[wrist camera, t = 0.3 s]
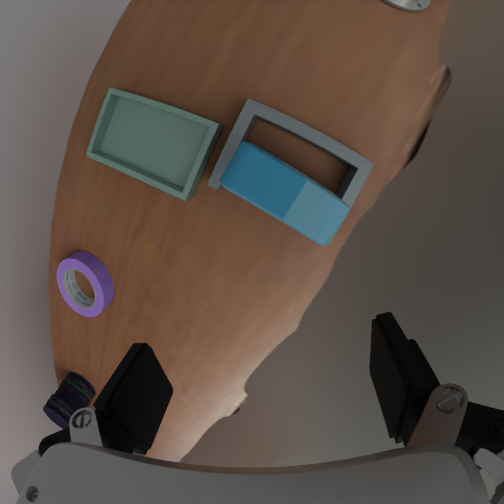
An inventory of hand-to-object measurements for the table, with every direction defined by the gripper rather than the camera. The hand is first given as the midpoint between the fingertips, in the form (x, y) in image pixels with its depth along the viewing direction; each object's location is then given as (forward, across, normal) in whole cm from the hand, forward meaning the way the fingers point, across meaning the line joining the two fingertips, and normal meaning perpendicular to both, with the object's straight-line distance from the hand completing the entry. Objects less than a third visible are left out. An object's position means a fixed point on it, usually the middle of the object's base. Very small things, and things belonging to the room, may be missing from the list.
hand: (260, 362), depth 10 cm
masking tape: (+29, +35, +5) cm, 45 cm away
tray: (+28, +14, -14) cm, 34 cm away
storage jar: (+29, +60, +35) cm, 75 cm away
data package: (+28, -2, -4) cm, 28 cm away
